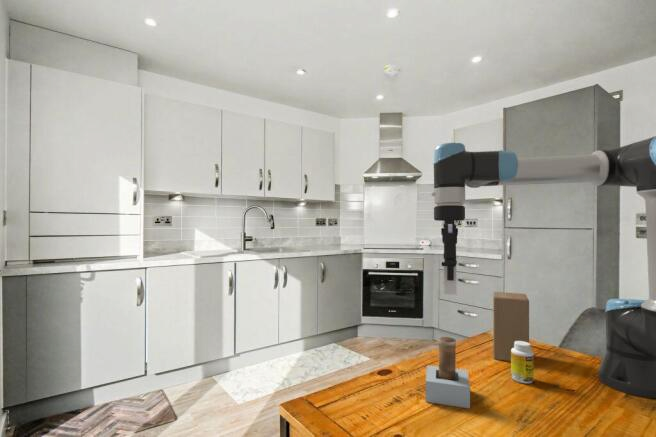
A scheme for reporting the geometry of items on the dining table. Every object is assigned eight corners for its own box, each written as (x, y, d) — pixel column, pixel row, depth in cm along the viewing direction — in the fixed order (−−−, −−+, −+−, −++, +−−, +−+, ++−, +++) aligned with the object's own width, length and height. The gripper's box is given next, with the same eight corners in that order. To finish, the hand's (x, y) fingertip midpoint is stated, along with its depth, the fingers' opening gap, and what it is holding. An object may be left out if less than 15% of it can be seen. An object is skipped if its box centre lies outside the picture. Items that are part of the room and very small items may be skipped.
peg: (455, 392, 91) (455, 337, 91) (455, 400, 87) (456, 343, 87) (438, 390, 92) (438, 336, 92) (438, 397, 88) (438, 341, 88)
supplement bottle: (527, 386, 95) (527, 347, 95) (506, 378, 99) (506, 341, 99) (537, 381, 98) (537, 344, 98) (517, 374, 102) (517, 338, 102)
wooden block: (526, 354, 118) (526, 293, 118) (529, 364, 109) (529, 299, 109) (493, 349, 122) (493, 291, 122) (493, 359, 113) (493, 296, 113)
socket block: (466, 389, 93) (467, 370, 93) (469, 408, 83) (469, 387, 83) (427, 383, 96) (427, 365, 96) (425, 401, 86) (425, 380, 86)
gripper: (434, 207, 103) (434, 280, 103) (433, 202, 79) (433, 297, 79) (462, 207, 101) (462, 281, 101) (469, 202, 77) (469, 300, 77)
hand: (449, 289), depth 90 cm, fingers open, 13 cm apart
